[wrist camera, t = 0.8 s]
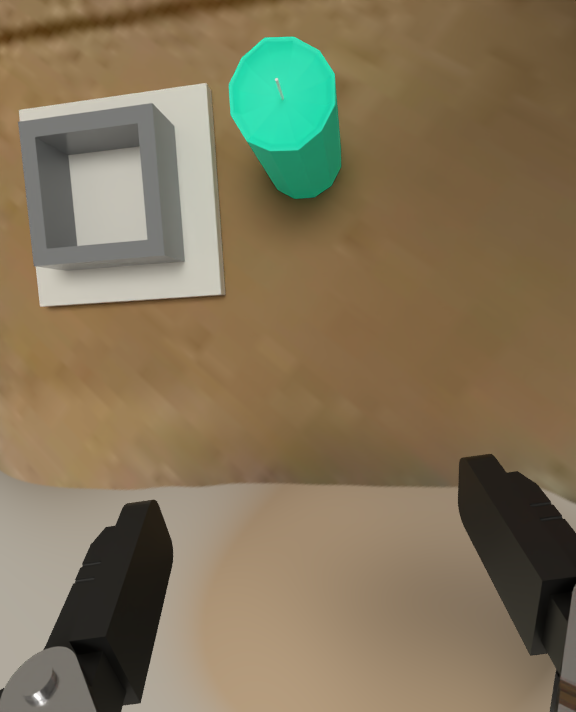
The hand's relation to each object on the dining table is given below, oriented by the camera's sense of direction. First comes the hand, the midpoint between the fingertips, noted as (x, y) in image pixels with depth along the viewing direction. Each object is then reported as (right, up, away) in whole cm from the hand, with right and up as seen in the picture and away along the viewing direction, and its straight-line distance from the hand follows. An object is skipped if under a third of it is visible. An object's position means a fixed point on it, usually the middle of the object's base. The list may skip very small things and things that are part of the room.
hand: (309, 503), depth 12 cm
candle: (+1, +19, +23) cm, 30 cm away
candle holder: (-14, +16, +25) cm, 33 cm away
